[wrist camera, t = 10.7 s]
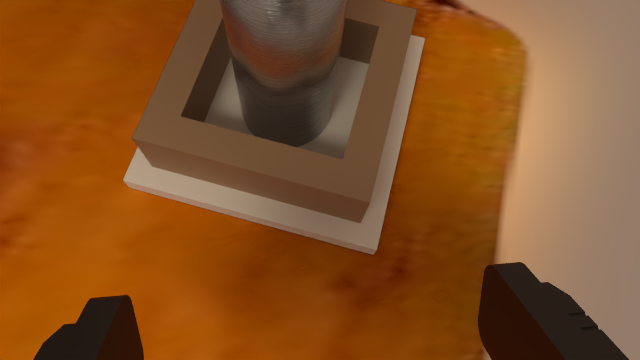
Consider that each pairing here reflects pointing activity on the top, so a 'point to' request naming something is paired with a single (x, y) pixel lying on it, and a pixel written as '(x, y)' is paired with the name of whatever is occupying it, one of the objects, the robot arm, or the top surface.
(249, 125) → the axle
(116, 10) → the top surface
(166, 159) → the cradle
